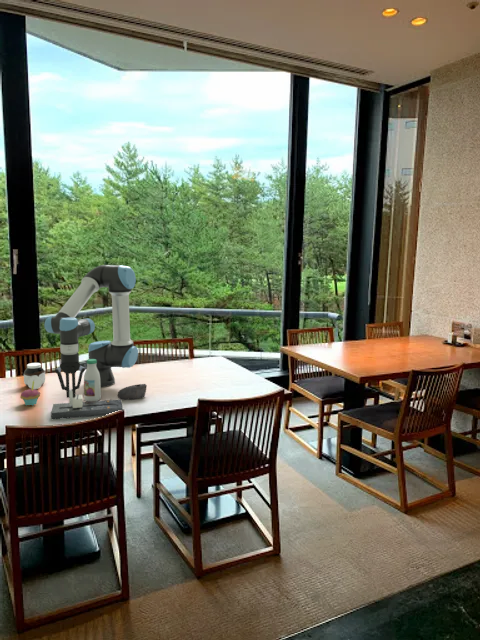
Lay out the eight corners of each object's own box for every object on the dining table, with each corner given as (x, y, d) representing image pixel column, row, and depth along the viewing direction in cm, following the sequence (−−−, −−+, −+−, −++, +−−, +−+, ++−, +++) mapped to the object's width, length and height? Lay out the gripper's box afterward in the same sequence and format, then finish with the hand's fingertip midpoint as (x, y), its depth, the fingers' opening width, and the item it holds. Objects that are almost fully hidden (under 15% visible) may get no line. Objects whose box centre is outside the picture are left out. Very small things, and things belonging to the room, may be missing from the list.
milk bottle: (94, 395, 240) (93, 357, 237) (104, 399, 236) (103, 359, 232) (81, 399, 234) (80, 359, 231) (90, 403, 230) (89, 362, 227)
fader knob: (73, 403, 218) (73, 394, 217) (82, 403, 219) (82, 394, 218) (72, 408, 212) (72, 398, 212) (82, 407, 213) (82, 398, 213)
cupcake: (43, 401, 230) (42, 377, 229) (36, 407, 222) (35, 382, 220) (25, 401, 230) (23, 377, 228) (17, 407, 222) (16, 382, 220)
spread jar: (38, 382, 261) (37, 361, 259) (52, 385, 255) (51, 364, 254) (18, 387, 251) (17, 365, 249) (32, 391, 245) (31, 369, 243)
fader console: (53, 410, 219) (53, 403, 218) (121, 405, 227) (121, 399, 227) (51, 419, 207) (51, 412, 207) (122, 414, 216) (122, 407, 216)
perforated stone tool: (118, 402, 232) (118, 388, 231) (116, 399, 237) (116, 385, 236) (148, 398, 239) (148, 385, 237) (146, 395, 243) (146, 382, 242)
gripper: (53, 355, 206) (55, 408, 209) (84, 354, 209) (86, 405, 213) (54, 351, 213) (56, 402, 217) (85, 350, 216) (86, 400, 220)
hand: (71, 404), depth 215 cm, fingers closed
